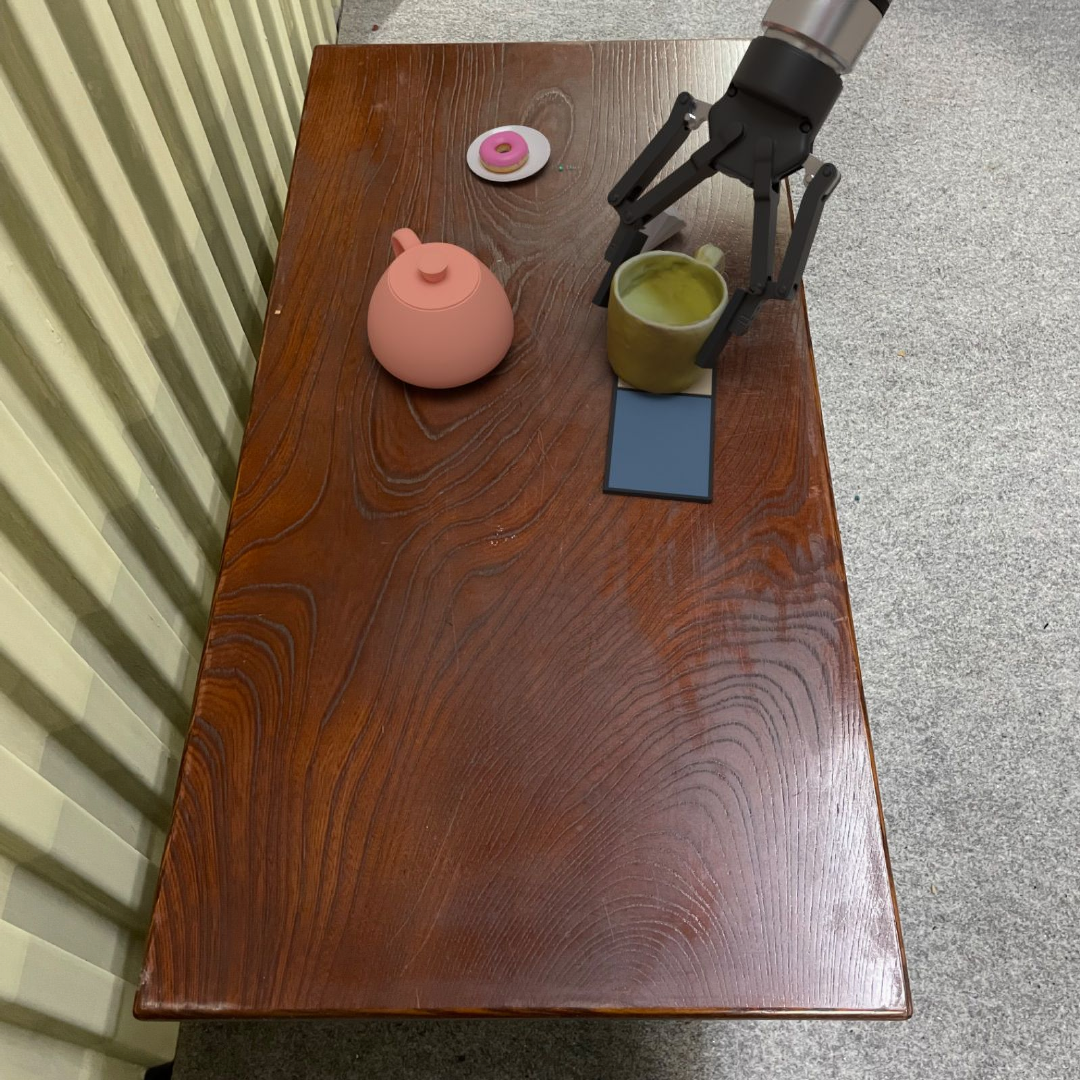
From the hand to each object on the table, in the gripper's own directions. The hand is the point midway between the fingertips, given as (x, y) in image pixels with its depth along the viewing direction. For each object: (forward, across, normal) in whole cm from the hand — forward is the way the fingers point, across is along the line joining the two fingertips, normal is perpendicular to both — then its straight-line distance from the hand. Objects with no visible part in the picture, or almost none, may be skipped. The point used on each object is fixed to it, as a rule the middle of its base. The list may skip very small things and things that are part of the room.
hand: (651, 335), depth 76 cm
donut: (-6, +25, -14) cm, 29 cm away
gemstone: (-6, +9, -13) cm, 17 cm away
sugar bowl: (+9, +16, +2) cm, 19 cm away
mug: (+1, 0, -5) cm, 5 cm away
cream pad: (+1, 0, -6) cm, 6 cm away
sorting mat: (+4, -3, -3) cm, 6 cm away
